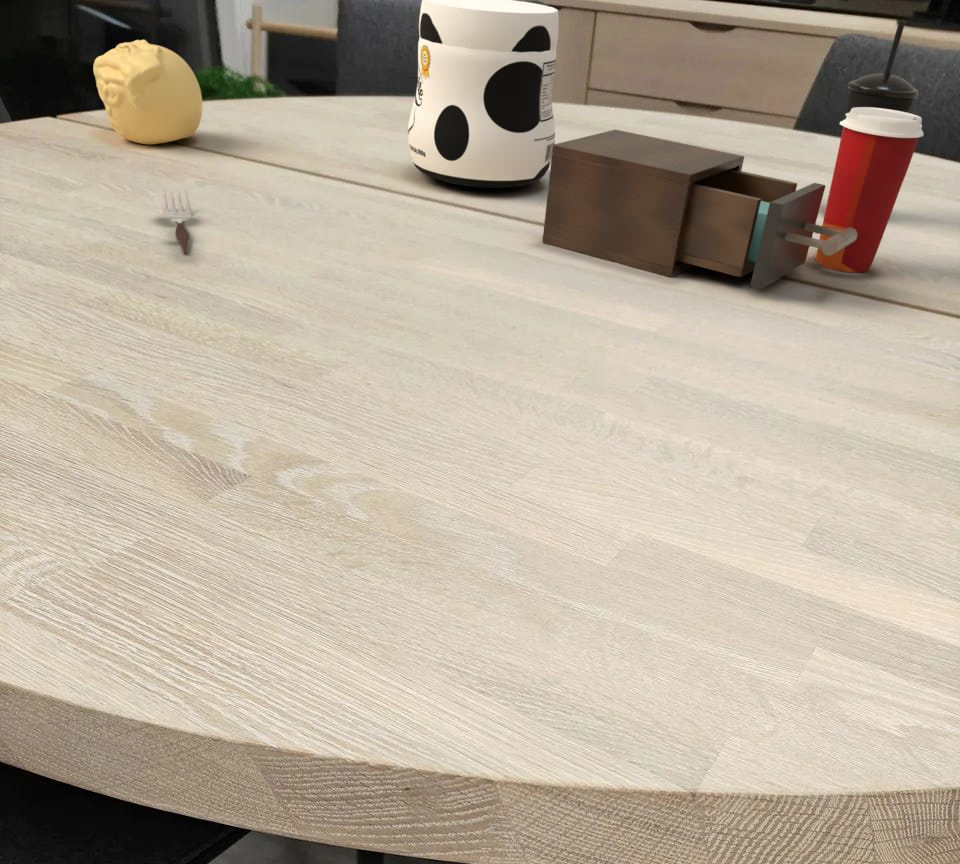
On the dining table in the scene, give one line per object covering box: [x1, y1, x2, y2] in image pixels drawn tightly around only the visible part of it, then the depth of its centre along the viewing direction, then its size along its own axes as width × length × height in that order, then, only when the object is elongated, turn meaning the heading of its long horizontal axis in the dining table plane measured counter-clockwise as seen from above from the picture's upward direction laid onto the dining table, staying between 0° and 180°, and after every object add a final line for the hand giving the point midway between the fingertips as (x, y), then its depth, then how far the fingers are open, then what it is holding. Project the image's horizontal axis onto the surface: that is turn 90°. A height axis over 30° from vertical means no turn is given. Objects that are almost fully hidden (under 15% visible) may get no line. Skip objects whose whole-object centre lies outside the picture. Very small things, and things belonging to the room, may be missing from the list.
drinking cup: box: [839, 19, 919, 142], centre depth 115 cm, size 8×8×20 cm
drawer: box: [677, 169, 857, 289], centre depth 95 cm, size 18×11×7 cm, turn 55°
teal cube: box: [747, 201, 770, 263], centre depth 95 cm, size 4×4×4 cm
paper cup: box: [815, 107, 925, 273], centre depth 99 cm, size 8×8×14 cm
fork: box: [163, 189, 193, 254], centre depth 95 cm, size 3×16×2 cm, turn 16°
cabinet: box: [541, 129, 745, 278], centre depth 99 cm, size 15×13×9 cm
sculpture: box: [92, 39, 203, 145], centre depth 121 cm, size 11×12×11 cm
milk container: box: [407, 0, 560, 189], centre depth 115 cm, size 17×17×18 cm
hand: (815, 1), depth 85 cm, fingers open, 9 cm apart
